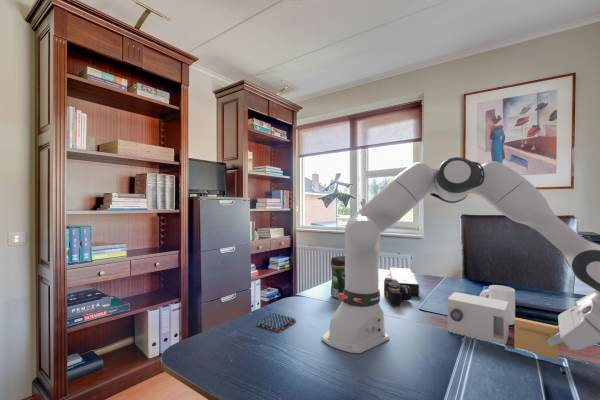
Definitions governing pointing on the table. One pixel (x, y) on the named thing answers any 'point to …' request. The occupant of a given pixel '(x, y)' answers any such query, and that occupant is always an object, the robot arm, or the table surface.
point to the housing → (478, 317)
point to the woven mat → (277, 322)
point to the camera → (396, 292)
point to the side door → (535, 337)
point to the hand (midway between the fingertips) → (548, 340)
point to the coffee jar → (338, 275)
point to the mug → (502, 298)
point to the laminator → (405, 279)
